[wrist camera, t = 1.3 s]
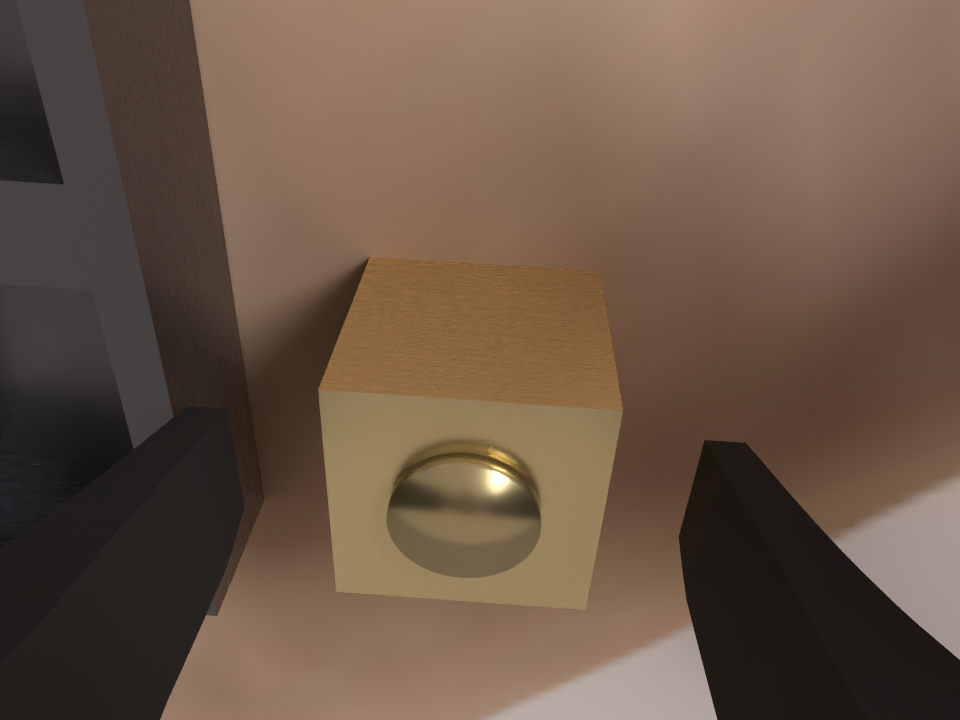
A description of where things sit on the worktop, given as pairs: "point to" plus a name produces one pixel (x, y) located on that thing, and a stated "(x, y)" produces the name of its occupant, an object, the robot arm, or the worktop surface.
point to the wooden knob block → (470, 433)
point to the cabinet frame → (108, 252)
